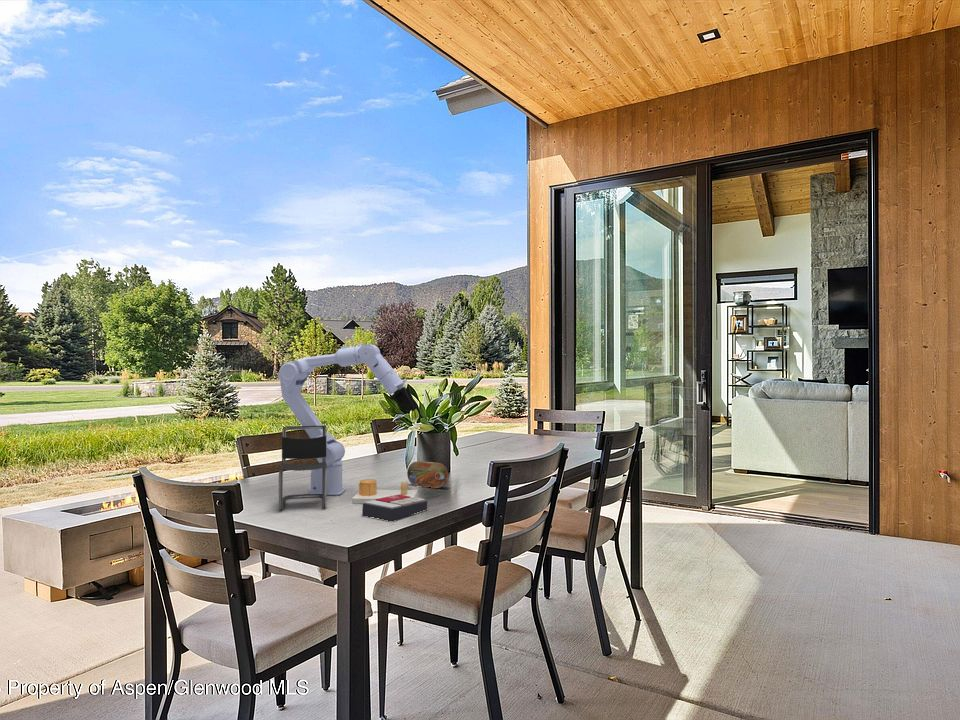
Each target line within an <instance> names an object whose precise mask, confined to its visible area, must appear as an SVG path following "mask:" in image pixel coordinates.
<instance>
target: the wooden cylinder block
mask: <svg viewBox="0 0 960 720" xmlns="http://www.w3.org/2000/svg"><path fill="white" fill-rule="evenodd" d="M377 485H378V483H377V479H373V478H368V479H367V478H364V479H360V480H359V483H358V492H359V495H362V496H372V495H376V493H377V490H378V488H377V487H378V486H377Z"/></svg>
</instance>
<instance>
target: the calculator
mask: <svg viewBox="0 0 960 720" xmlns="http://www.w3.org/2000/svg"><path fill="white" fill-rule="evenodd" d="M426 509H427V510H428V501H427V500H426V499H425V498H421V497H410V496H405V495H394V496H389V497H384V498H379V499H376V500H372V501H367V502H365V503H363V504H362V510H361V511H362V512H361V513H362V514H361V516H362V515H363V516H362V517H365V516H368V517H367V518H370V517H374V518H379V519H384V520H388V521H387V522H389V521H393V522H395V521H394V520H396V521H398V520H397V519H399V520H402V519H403V518H406V516H407V517H410V516H409V515H411V514H414V513H417V512H420V511H423V510H426ZM414 515H415V514H414ZM411 516H412V515H411ZM374 518H373V519H374ZM401 518H402V519H401ZM379 519H378V520H379ZM384 520H383V521H384Z"/></svg>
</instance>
